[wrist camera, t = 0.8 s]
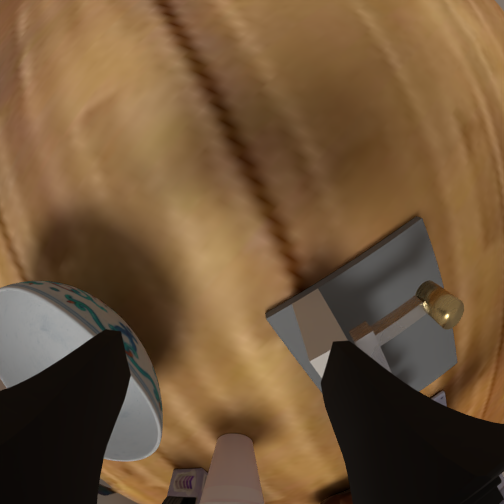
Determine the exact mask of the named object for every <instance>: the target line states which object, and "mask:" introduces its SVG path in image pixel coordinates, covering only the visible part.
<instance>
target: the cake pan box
mask: <svg viewBox="0 0 504 504" xmlns="http://www.w3.org/2000/svg"><path fill="white" fill-rule="evenodd" d="M207 475H208V473H207V472H206V471H205V470H204V469H203V468H191V469H174V470H173V474H172V479H171V482H170V486H169V490H168V495H167V498H166V499H165V500H164V501H163V503H162V504H199V503H200V500H201V496H202V492H203V489H204V486H205V482H206V479H207Z"/></svg>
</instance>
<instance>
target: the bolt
mask: <svg viewBox="0 0 504 504" xmlns="http://www.w3.org/2000/svg"><path fill="white" fill-rule="evenodd" d="M463 312H464V304H463V302H462V301H461V300H459V299H458V298H456V297H455V296H454V295H452V294H451V293H449V292H448V291H446V290H445V289H444V288H442V287H441V286H439V285H438V284H436V283H435V282H433V281H430V280H428V281H425V282H424V283H422V284H421V285H420V286H419V288H418V289H417V291H416V294H415V295H414V296H413V297H412V298H410V299H409V300H408V301H406V302H405V303H403V304H402V305H401V306H399V307H398V308H396V309H395V310H394V311H392V312H391V313H389V314H388V315H386V316H385V317H383V318H382V319H380V320H379V321H377V322H376V323H374V324H373V325H371V326H369V325H368V323H367V322H366V321H364V322H362V323H361V324H359V325H358V326H356V327H355V328H353V329H351V330H350V331H348V332H349V333H350V335H351V337H352V339H353V341H354V343H355V344H356V346H357V347H358V348H360V349H361V350H362V351H364V352H365V353H366V354H367V355H369V356H370V357H371V358H373V359H374V360H375V361H376V362H378V363H379V364H380V365H381V366H383V367H384V368H385V369H387V370H388V371H389V372H391V370H390V367H389V365H388V363H387V361H386V358H385V356H384V354H383V352H382V349H381V347H380V346H382V345H383V344H385V343H386V342H388V341H389V340H391V339H392V338H394V337H395V336H397V335H398V334H400V333H401V332H402V331H404V330H405V329H407V328H408V327H409V326H411V325H412V324H414V323H415V322H416V321H418V320H419V319H420V318H422V317H423V316H424V315H426V313H427V314H428V315H429V316H430V317H431V318H432V319H434V320H435V321H436V322H437V323H438V324H439V325H440V326H441V327H442V328H443V329H446V330H448V329H451V328H453V327H454V326H455V325H456V324H457V323H458V322H459V321H460V319H461V317H462V315H463ZM391 373H392V372H391Z"/></svg>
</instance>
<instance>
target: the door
mask: <svg viewBox="0 0 504 504" xmlns="http://www.w3.org/2000/svg"><path fill="white" fill-rule="evenodd" d="M428 280H430V281H433V282H435V283H436V284H438V285H439V286H441V287H442V288H444V287H443V283H442V279H441V275H440V271H439V268H438V264H437V261H436V258H435V254H434V251H433V248H432V245H431V242H430V239H429V236H428V233H427V230H426V228H425V225H424V222H423V219H422V218H420V217H417V216H416V217H415V218H413V219H412V220H410V221H409V222H408V223H406V224H405V225H403V226H402V227H401V228H399V229H398V230H396V231H395V232H394V233H392V234H391V235H389V236H388V237H386V238H385V239H383V240H382V241H380V242H379V243H378V244H376V245H375V246H373V247H372V248H370V249H369V250H367V251H366V252H364V253H363V254H361V255H360V256H358V257H357V258H355V259H354V260H352V261H350V262H349V263H347V264H346V265H344V266H343V267H341V268H340V269H338V270H336V271H335V272H333V273H332V274H330V275H329V276H327V277H325V278H324V279H322V280H321V281H319V282H317V283H316V284H314V285H312V286H311V287H309V288H307V289H306V290H304V291H303V292H301V293H299V294H298V295H296V296H294V297H292V298H291V299H289V300H287V301H286V302H284V303H282V304H281V305H279V306H277V307H275V308H274V309H272V310H270V311H268V312H267V313H265V314H266V319H267V321H268V322H269V323H270V325H271V326H272V328H273V329H274V330H275V332H276V333H277V334H278V336H279V337H280V338H281V340H282V341H283V342H284V344H285V345H286V346H287V348H288V349H289V350H290V352H291V353H292V354H293V356H294V357H295V358H296V360H297V361H298V362H299V364H300V365H301V366H302V367H303V369H304V370H305V371H306V373H307V374H308V375H309V377H310V378H311V379H312V381H313V382H314V383H315V384H316V386H317V387H318V388H319V390H320V391H321V392H322V389H321V380H322V377H323V373H324V370H325V367H326V364H327V360H328V357H329V354H330V350H331V347H332V343H333V341H350V342H352V343H353V344H354V345H356V344H355V343H354V341H353V339H352V337H351V335H350V333H349V332H348V331H350V330H351V329H353V328H355V327H356V326H358V325H359V324H361V323H362V322H364V321H366V322H367V323H368V325H369V326H371V325H373V324H374V323H376V322H377V321H379V320H380V319H382V318H383V317H385V316H386V315H388V314H389V313H391V312H392V311H394V310H395V309H396V308H398V307H399V306H401V305H402V304H403V303H405V302H406V301H408V300H409V299H410V298H412V297H413V296H414V295H415V294H416V291H417V289H418V288H419V286H420V285H421V284H422V283H424V282H425V281H428ZM380 347H381V349H382V352H383V354H384V356H385V358H386V361H387V363H388V365H389V367H390V370H391V372H392V374H393V375H395V376H396V377H397V378H399V379H400V380H402V381H403V382H405V383H406V384H408V385H409V386H411V387H412V388H414V389H415V390H417V391H418V392H419V391H421V390H422V389H423V388H425V387H426V386H428V385H429V384H430V383H432V382H433V381H435V380H436V379H437V378H439V377H440V376H441V375H442V374H444V373H445V372H446V371H448V370H449V369H450V368H451V367H453V366H454V365H455V364H456V363H457V356H456V348H455V341H454V335H453V329H452V328H451V329H448V330H446V329H443V328H442V327H441V326H440V325H439V324H438V323H437V322H436V321H435V320H434V319H432V318H431V317H430V316H429V315H428V314H427V313H426V315H424V316H423V317H422V318H420V319H419V320H418V321H416V322H415V323H414V324H412V325H411V326H409V327H408V328H407V329H405V330H404V331H402V332H401V333H400V334H398V335H397V336H395V337H394V338H392V339H391V340H389V341H388V342H386V343H385V344H383V345H382V346H380Z"/></svg>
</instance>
